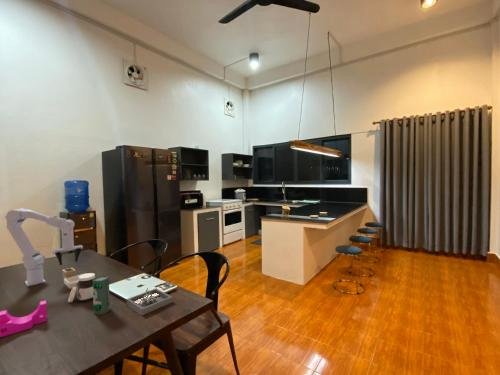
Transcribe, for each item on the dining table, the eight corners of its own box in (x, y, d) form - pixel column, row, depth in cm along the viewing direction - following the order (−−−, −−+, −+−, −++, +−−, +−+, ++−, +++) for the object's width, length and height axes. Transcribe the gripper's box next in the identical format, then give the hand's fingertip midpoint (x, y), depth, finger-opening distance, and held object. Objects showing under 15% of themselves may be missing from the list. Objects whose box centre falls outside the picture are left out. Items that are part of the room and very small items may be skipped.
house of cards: (139, 313, 112) (139, 296, 111) (135, 305, 119) (134, 289, 118) (160, 307, 117) (159, 291, 117) (155, 299, 124) (154, 284, 124)
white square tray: (64, 283, 145) (63, 278, 145) (86, 277, 153) (86, 273, 153) (69, 289, 137) (69, 284, 137) (93, 282, 146) (93, 277, 146)
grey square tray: (126, 305, 119) (126, 299, 119) (156, 294, 130) (156, 288, 130) (142, 316, 109) (141, 309, 109) (172, 303, 121) (172, 296, 120)
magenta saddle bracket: (-4, 338, 95) (-5, 318, 95) (-2, 330, 100) (-3, 312, 100) (47, 323, 105) (46, 305, 105) (46, 317, 110) (45, 300, 110)
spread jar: (101, 297, 127) (100, 274, 127) (77, 307, 117) (76, 283, 117) (87, 292, 133) (86, 270, 133) (63, 301, 123) (62, 278, 123)
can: (93, 310, 115) (92, 277, 114) (108, 306, 118) (107, 274, 118) (94, 316, 110) (93, 282, 109) (110, 311, 113) (109, 278, 113)
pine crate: (62, 279, 151) (62, 269, 151) (72, 277, 155) (72, 267, 155) (65, 282, 146) (65, 272, 146) (75, 280, 150) (75, 270, 150)
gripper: (54, 244, 142) (55, 267, 142) (84, 239, 153) (84, 261, 153) (51, 242, 146) (52, 265, 147) (80, 237, 157) (81, 258, 158)
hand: (68, 263), depth 150 cm, fingers open, 7 cm apart
